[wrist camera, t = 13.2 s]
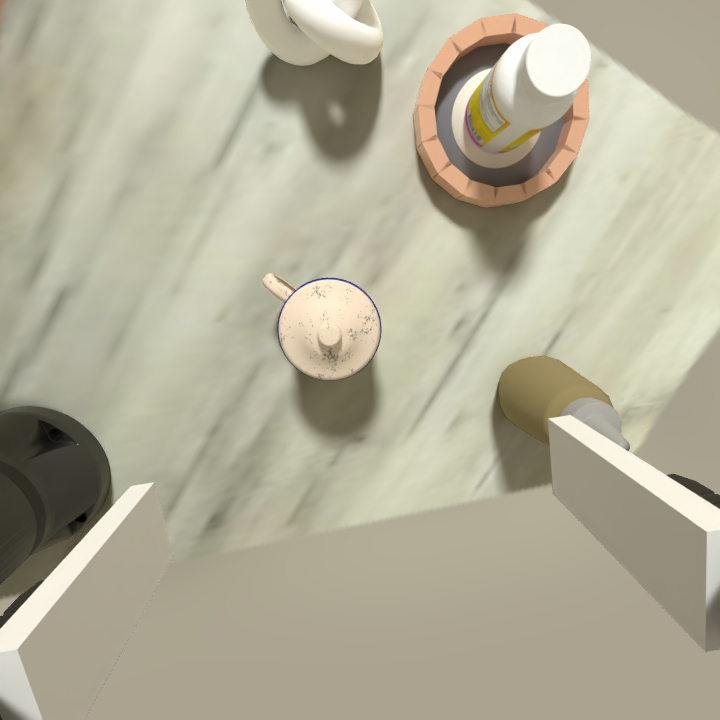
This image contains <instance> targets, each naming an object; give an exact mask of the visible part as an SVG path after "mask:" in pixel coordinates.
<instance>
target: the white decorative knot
mask: <svg viewBox="0 0 720 720" xmlns="http://www.w3.org/2000/svg"><path fill="white" fill-rule="evenodd" d="M245 2H246V7H247V11H248V13H249V16H250V19H251V22H252V24H253V26H254V28H255V30H256V32H257V33H258V35H259V37H260V38H261V40H262V41H263V42H264V44H265V45H266V46H267V48H268V49H269V50H270V51H271V52H272V53H273V54H274V55H276V56H277V57H278V58H280V59H282V60H283V61H285V62H287V63H290V64H293V65H300V66H305V65H311V64H314V63H316V62H318V61H320V60H323V59H324V58H326V57H328V56H329V55H330V54H331V55H333V56H335V57H336V58H338V59H340V60H342V61H344V62H347V63H350V64H367V63H370V62H371V61H372V60H374V59H375V58H376V57H377V56H378V54H379V52H380V50H381V48H382V45H383V31H382V26H381V23H380V20H379V18H378V15H377V13H376V11H375V9H374V7H373V5H372V3H371V1H370V0H283V3H284V5H285V8H286V10H287V12H288V14H289V16H290V17H291V18H292V19H293V21H294V22H295V23H296V24H297V25H298V26H296V25H294V24H293V23H291V22H290V21H289V19H288V18H287V16H286V14H285V11H284V9H283V5H282V1H281V0H245Z"/></svg>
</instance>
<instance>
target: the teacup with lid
mask: <svg viewBox="0 0 720 720" xmlns="http://www.w3.org/2000/svg"><path fill="white" fill-rule="evenodd" d="M263 284H264V286H265V287H266V288H267V289H268V290H269V291H270V292H271V293H273V294H274V295H275V296H276V297H278V298H279V299H280V300H282V301H283V302H284V305H283V307H282V309H281V312H280V315H279V319H278V339H279V343H280V346H281V348H282V351H283V353H284V355H285V356H286V358H287V359H288V361H289V362H290V363H291V364H292V365H293V366H294V367H295V368H296V369H298V370H299V371H300V372H302V373H303V374H305V375H307V376H309V377H312V378H315V379H319V380H326V381H333V380H340V379H344V378H347V377H350V376H352V375H354V374H356V373H358V372H359V371H361V370H362V369H363V368H364V367H365V366H366V365H367V364H368V363H369V362H370V361H371V360H372V358H373V357H374V355H375V353H376V351H377V349H378V346H379V343H380V339H381V321H380V316H379V313H378V310H377V308H376V306H375V304H374V302H373V301H372V299H371V298H370V297H369V296H368V295H367V293H366V292H364V291H363V290H362V289H361V288H359V287H358V286H357V285H355V284H353V283H351V282H349V281H346V280H343V279H338V278H321V279H316V280H312V281H310V282H307V283H305V284H304V285H302V286H300V287H299V288H298V289H296V288H295V287H293V286H292V285H290V284H289V283H288V282H286V281H285V280H283V279H282V278H280V277H278V276H277V275H275V274H272V273H269V274H267V275H266V276H265V278H264V279H263Z"/></svg>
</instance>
